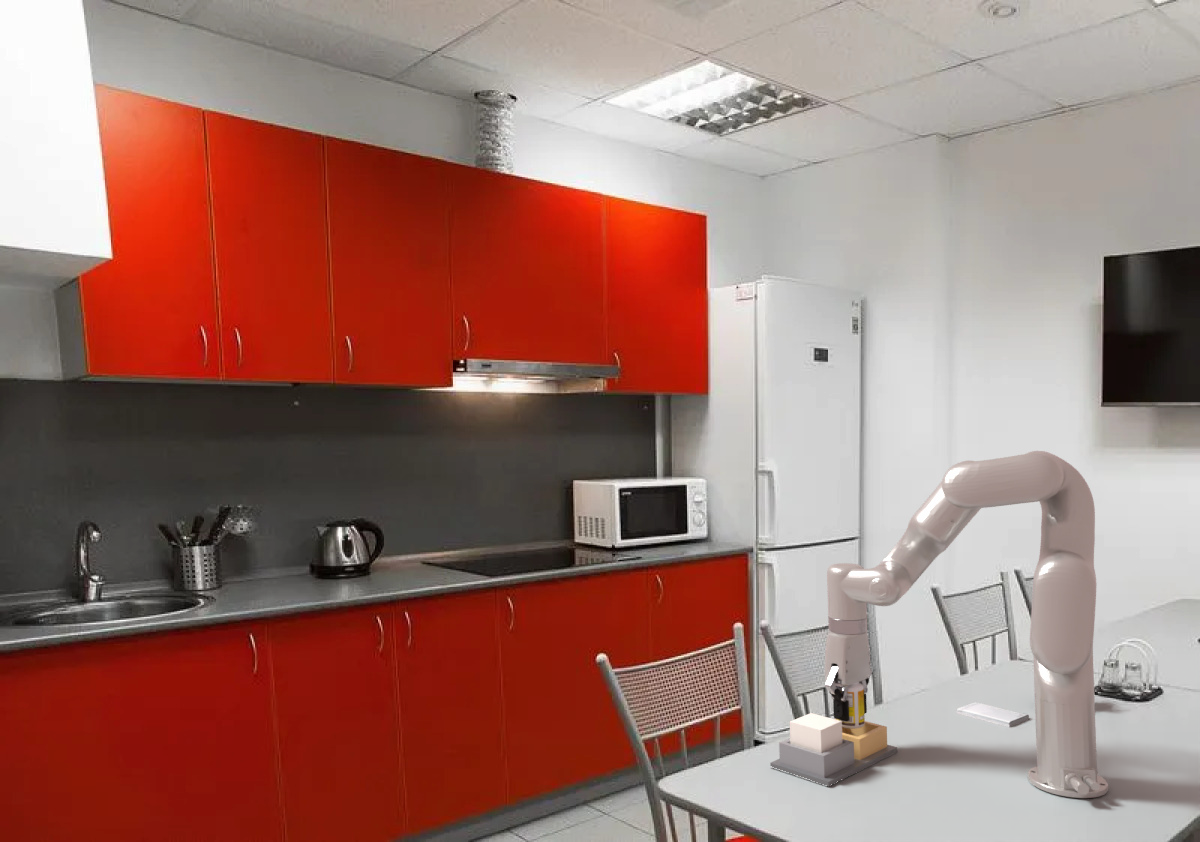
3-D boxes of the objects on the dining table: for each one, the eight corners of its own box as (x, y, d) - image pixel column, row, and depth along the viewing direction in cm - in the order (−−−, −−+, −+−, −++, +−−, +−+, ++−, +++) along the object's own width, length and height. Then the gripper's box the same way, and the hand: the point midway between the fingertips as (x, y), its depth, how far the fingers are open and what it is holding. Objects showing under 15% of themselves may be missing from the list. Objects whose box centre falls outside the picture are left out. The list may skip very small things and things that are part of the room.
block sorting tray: (840, 736, 182) (839, 693, 182) (897, 752, 172) (895, 707, 172) (770, 768, 166) (768, 721, 166) (828, 787, 156) (826, 737, 156)
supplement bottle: (858, 719, 176) (856, 669, 176) (869, 728, 171) (867, 677, 171) (831, 721, 176) (830, 671, 176) (842, 730, 170) (840, 678, 170)
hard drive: (1029, 714, 189) (976, 700, 199) (1009, 722, 184) (956, 708, 194) (1029, 721, 189) (976, 708, 199) (1009, 729, 184) (956, 715, 194)
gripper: (854, 616, 182) (857, 702, 182) (807, 630, 170) (809, 721, 170) (887, 621, 176) (889, 710, 176) (839, 636, 165) (842, 731, 165)
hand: (850, 714), depth 173 cm, fingers closed on supplement bottle, 5 cm apart
